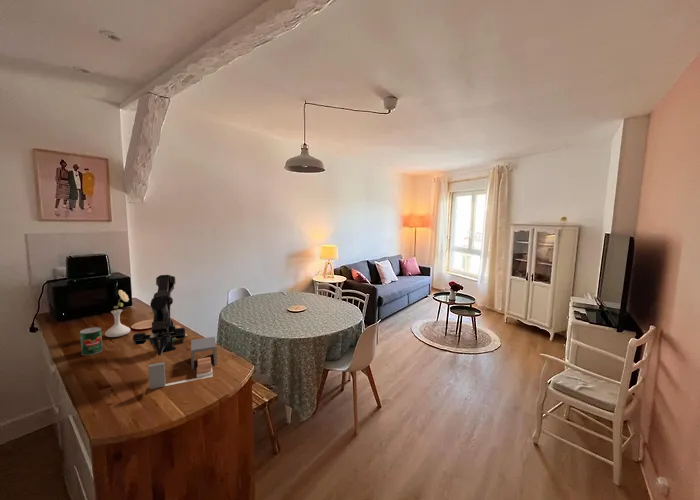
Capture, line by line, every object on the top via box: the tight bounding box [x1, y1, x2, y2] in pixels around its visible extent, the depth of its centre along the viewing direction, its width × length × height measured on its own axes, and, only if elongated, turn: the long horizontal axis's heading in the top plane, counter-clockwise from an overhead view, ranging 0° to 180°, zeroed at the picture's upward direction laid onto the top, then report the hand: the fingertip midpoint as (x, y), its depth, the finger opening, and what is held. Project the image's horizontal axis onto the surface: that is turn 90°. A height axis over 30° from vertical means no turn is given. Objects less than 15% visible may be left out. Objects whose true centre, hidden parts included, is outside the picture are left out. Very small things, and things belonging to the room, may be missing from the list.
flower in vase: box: [104, 289, 131, 338], centre depth 166 cm, size 13×11×25 cm
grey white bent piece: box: [148, 361, 214, 390], centre depth 123 cm, size 9×22×10 cm, turn 117°
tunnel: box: [190, 336, 218, 370], centre depth 137 cm, size 12×10×10 cm
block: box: [197, 356, 212, 374], centre depth 127 cm, size 5×5×5 cm
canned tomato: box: [79, 326, 103, 356], centre depth 145 cm, size 8×8×11 cm
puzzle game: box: [173, 324, 189, 343], centre depth 163 cm, size 12×5×20 cm
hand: (159, 355), depth 124 cm, fingers closed
